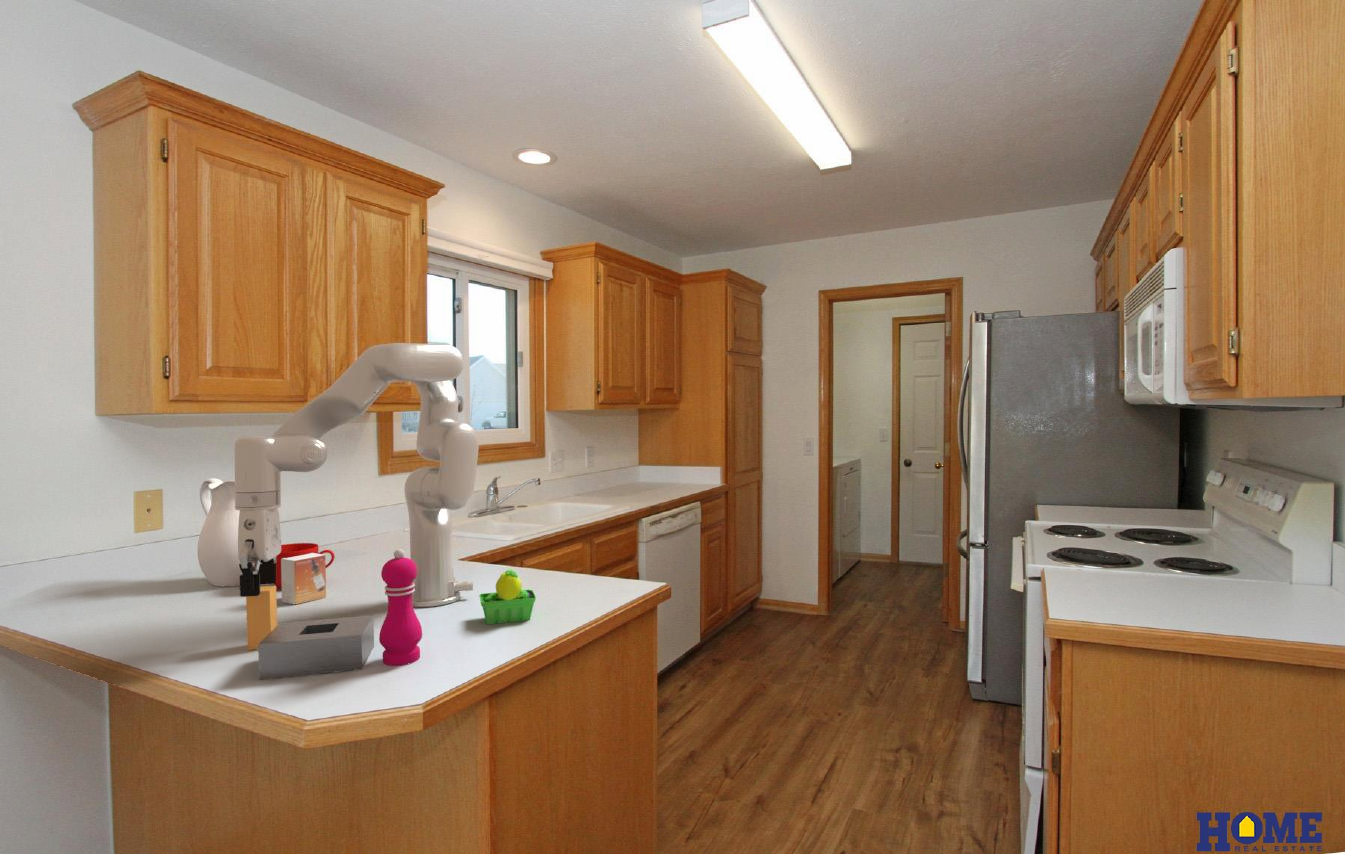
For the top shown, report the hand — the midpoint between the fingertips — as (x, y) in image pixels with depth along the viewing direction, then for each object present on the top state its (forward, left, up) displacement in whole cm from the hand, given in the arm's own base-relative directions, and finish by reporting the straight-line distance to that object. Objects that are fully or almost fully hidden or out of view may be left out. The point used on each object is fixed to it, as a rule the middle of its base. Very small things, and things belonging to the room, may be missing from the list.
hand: (258, 589), depth 131 cm
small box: (+1, -34, -11) cm, 36 cm away
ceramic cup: (+6, -50, -11) cm, 52 cm away
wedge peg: (0, 0, -11) cm, 11 cm away
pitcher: (+26, -62, -11) cm, 68 cm away
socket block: (-13, +13, -11) cm, 21 cm away
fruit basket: (-46, -3, -11) cm, 48 cm away
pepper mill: (-27, +16, -11) cm, 33 cm away
